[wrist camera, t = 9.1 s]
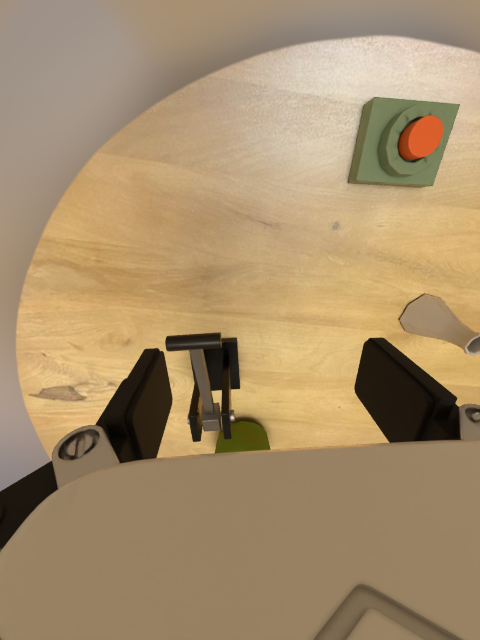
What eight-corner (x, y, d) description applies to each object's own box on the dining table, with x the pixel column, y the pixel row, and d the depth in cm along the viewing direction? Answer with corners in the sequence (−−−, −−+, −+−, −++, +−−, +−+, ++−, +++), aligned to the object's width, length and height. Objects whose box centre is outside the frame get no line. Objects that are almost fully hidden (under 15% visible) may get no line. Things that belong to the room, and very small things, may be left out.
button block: (347, 182, 31) (363, 179, 28) (363, 104, 28) (383, 88, 24) (420, 187, 32) (444, 184, 28) (444, 111, 29) (475, 97, 25)
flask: (390, 320, 40) (438, 353, 31) (425, 285, 38) (487, 309, 29) (417, 340, 42) (470, 376, 33) (452, 308, 40) (518, 337, 31)
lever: (167, 329, 23) (163, 347, 21) (220, 325, 23) (220, 343, 21) (195, 415, 33) (193, 432, 31) (230, 412, 33) (231, 429, 31)
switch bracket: (189, 340, 40) (171, 399, 28) (236, 337, 40) (240, 394, 28) (196, 387, 44) (184, 457, 32) (239, 384, 44) (244, 452, 32)
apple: (221, 410, 47) (219, 464, 37) (274, 418, 48) (285, 471, 38) (211, 448, 51) (207, 505, 41) (259, 454, 53) (267, 510, 43)
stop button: (393, 159, 27) (403, 156, 26) (404, 119, 26) (415, 113, 24) (423, 161, 28) (435, 158, 26) (435, 122, 26) (449, 116, 24)
